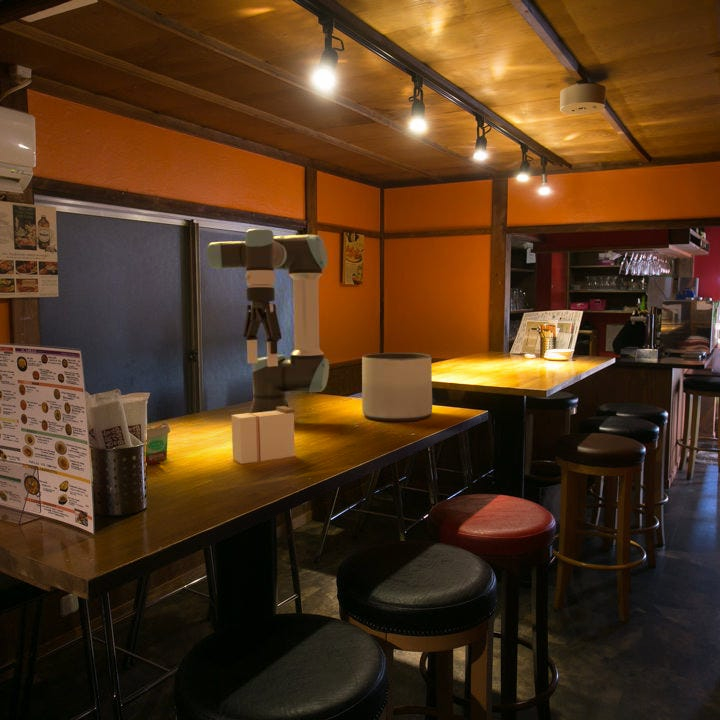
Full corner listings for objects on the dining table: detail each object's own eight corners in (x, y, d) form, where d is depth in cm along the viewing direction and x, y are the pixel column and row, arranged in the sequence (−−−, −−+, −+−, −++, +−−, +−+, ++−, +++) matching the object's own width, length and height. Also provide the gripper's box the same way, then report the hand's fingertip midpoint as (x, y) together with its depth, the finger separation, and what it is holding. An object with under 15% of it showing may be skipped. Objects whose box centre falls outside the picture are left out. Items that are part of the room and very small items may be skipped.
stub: (232, 459, 179) (231, 414, 177) (250, 456, 181) (249, 412, 180) (241, 463, 173) (239, 418, 172) (259, 461, 176) (257, 416, 175)
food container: (145, 469, 172) (143, 431, 171) (129, 466, 175) (127, 429, 174) (181, 459, 182) (179, 423, 181) (165, 456, 186) (164, 421, 185)
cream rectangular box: (251, 456, 181) (250, 409, 180) (285, 451, 187) (283, 406, 185) (260, 461, 176) (259, 412, 175) (294, 456, 181) (293, 409, 180)
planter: (446, 417, 240) (446, 355, 237) (390, 425, 225) (389, 360, 223) (403, 407, 260) (402, 351, 258) (348, 415, 246) (347, 355, 244)
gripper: (230, 288, 190) (232, 362, 192) (266, 285, 169) (268, 368, 171) (255, 288, 194) (256, 361, 196) (293, 285, 173) (294, 366, 175)
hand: (262, 364), depth 183 cm, fingers open, 13 cm apart
